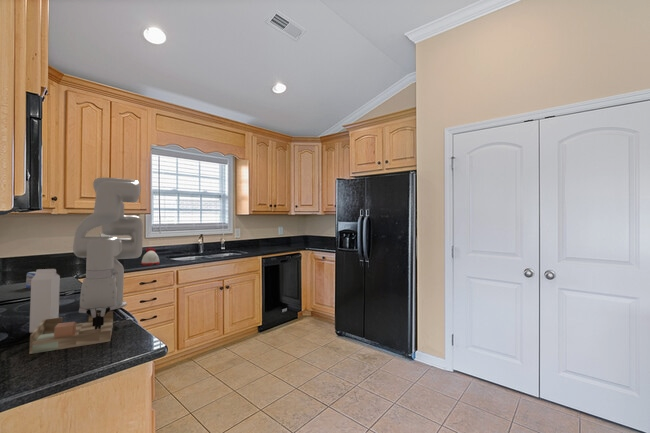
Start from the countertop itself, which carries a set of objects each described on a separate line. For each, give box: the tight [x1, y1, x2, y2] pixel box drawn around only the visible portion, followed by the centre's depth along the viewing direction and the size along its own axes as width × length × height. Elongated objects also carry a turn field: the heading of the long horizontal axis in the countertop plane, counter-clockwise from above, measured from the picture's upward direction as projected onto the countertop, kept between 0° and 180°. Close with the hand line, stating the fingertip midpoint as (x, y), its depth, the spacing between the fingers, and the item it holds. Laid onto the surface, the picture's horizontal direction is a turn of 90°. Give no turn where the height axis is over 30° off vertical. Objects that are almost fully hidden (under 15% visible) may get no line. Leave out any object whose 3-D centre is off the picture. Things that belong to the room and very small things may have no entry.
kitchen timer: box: [140, 247, 160, 266], centre depth 272 cm, size 14×14×15 cm
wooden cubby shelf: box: [28, 310, 114, 355], centre depth 105 cm, size 17×20×6 cm
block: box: [54, 321, 77, 338], centre depth 100 cm, size 4×4×4 cm
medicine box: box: [25, 271, 36, 289], centre depth 175 cm, size 8×4×9 cm, turn 76°
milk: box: [29, 268, 61, 333], centre depth 113 cm, size 6×6×22 cm
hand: (98, 327), depth 105 cm, fingers closed
